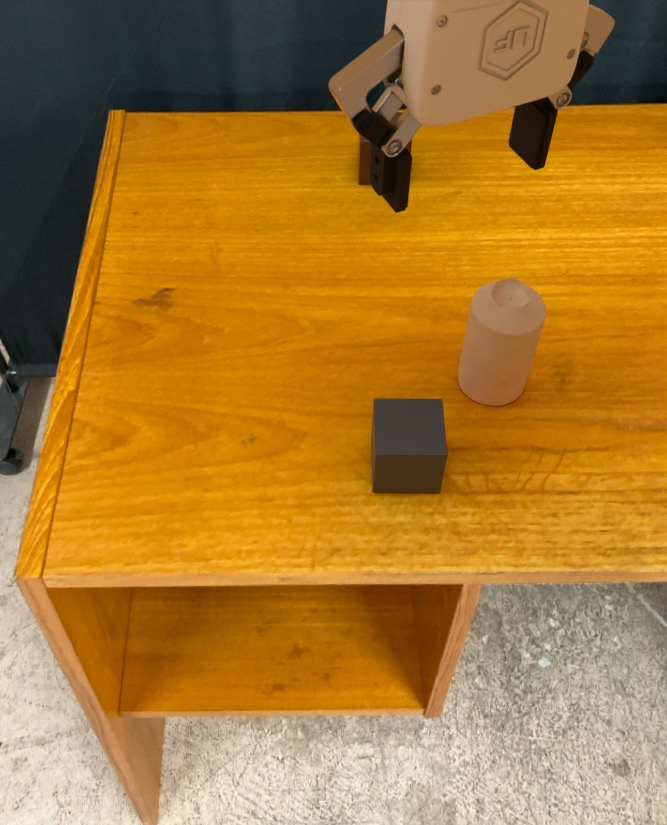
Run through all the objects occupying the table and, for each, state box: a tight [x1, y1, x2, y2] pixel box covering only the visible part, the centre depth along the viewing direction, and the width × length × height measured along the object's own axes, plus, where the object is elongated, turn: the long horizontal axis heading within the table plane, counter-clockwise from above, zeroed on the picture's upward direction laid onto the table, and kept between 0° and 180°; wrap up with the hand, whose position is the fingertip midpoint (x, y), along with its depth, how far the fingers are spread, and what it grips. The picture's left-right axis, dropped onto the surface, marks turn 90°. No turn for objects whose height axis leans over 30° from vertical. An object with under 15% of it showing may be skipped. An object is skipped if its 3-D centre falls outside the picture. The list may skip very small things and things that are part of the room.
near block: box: [370, 397, 449, 494], centre depth 60 cm, size 5×5×5 cm
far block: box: [357, 111, 413, 186], centre depth 82 cm, size 5×5×5 cm
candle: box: [457, 277, 548, 407], centre depth 63 cm, size 6×6×10 cm
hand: (459, 177), depth 51 cm, fingers open, 9 cm apart
